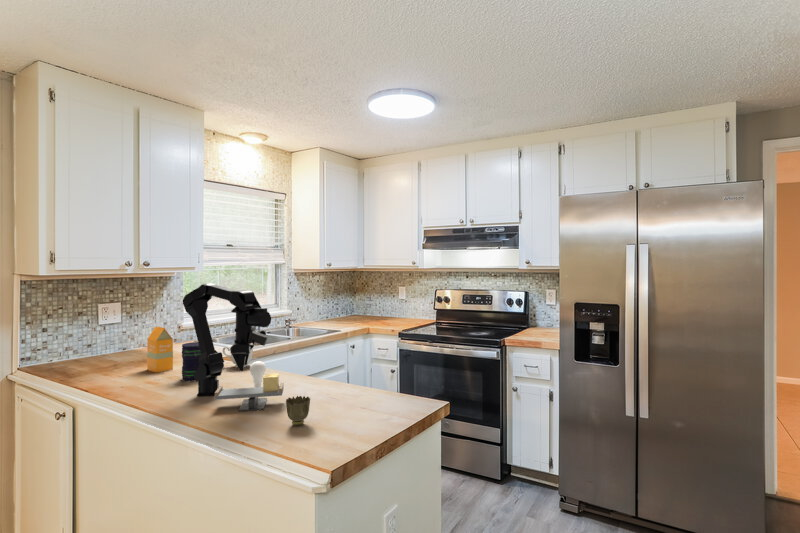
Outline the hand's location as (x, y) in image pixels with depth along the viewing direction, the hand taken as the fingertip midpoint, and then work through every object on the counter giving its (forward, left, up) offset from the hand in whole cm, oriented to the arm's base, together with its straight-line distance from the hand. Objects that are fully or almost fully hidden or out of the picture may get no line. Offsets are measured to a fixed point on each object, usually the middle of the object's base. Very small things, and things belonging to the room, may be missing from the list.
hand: (243, 367), depth 162 cm
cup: (+21, -30, -12) cm, 38 cm away
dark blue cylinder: (-25, +35, -12) cm, 45 cm away
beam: (+5, -8, -8) cm, 12 cm away
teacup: (-10, +55, -12) cm, 58 cm away
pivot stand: (+5, -8, -12) cm, 15 cm away
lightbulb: (+4, +13, -12) cm, 18 cm away
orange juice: (-45, +55, -12) cm, 73 cm away
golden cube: (+11, -8, -7) cm, 15 cm away
